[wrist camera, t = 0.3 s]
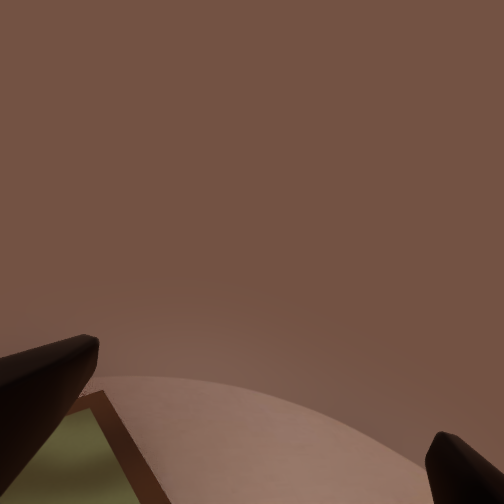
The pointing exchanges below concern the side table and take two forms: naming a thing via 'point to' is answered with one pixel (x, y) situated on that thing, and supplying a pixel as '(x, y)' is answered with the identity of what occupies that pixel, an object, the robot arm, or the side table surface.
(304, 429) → the side table surface
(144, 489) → the square wooden coaster
